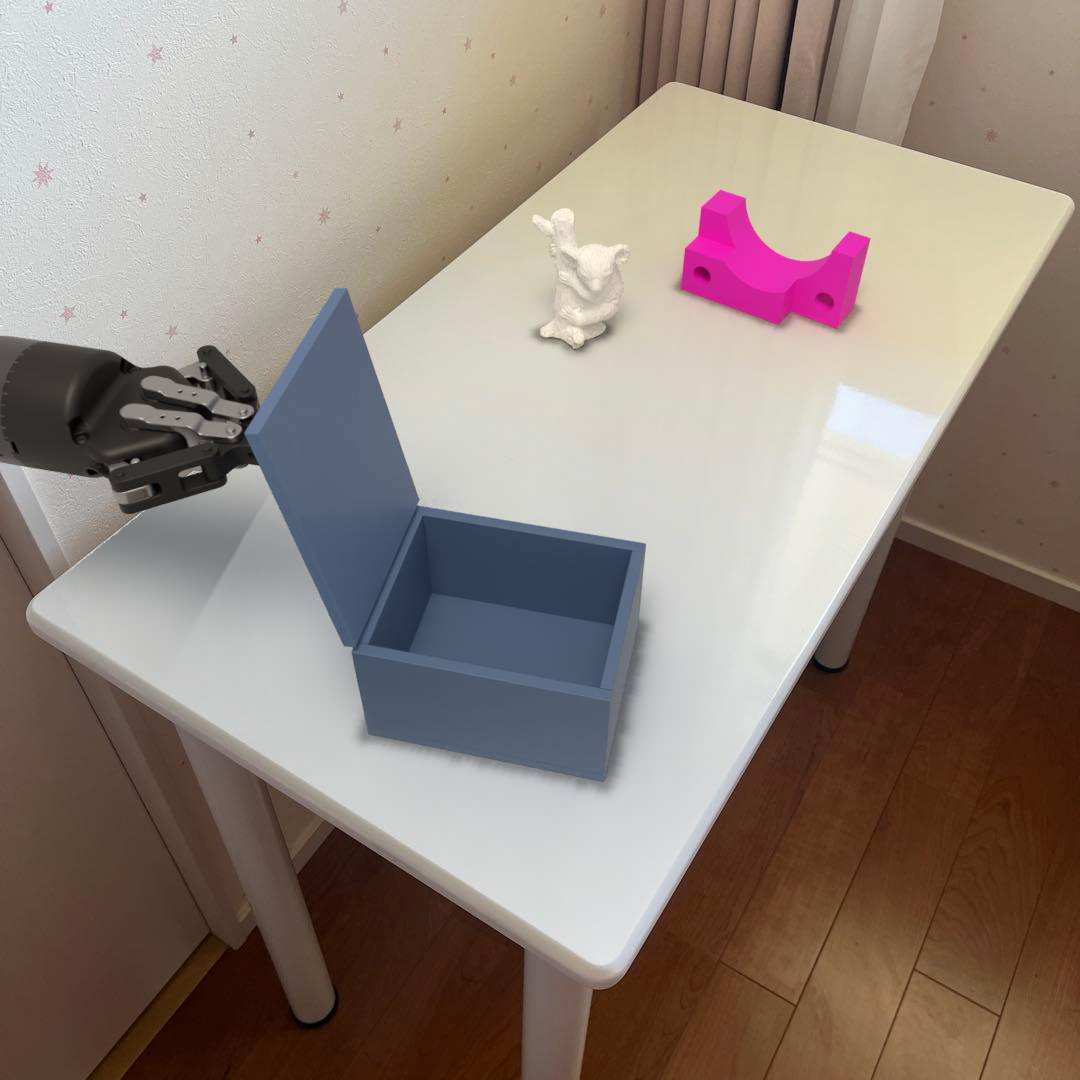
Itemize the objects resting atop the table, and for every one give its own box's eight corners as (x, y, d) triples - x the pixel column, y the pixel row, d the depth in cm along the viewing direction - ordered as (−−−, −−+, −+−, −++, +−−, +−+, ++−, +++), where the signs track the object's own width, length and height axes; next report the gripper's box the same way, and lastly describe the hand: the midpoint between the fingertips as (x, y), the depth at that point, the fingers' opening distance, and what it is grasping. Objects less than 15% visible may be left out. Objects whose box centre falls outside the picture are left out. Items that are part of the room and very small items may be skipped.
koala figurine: (522, 345, 100) (520, 227, 91) (546, 304, 104) (546, 187, 95) (611, 364, 98) (618, 245, 89) (632, 321, 102) (641, 204, 93)
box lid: (347, 287, 62) (334, 287, 62) (258, 433, 53) (243, 433, 54) (420, 500, 73) (408, 499, 73) (355, 647, 65) (343, 646, 65)
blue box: (637, 628, 78) (646, 542, 71) (604, 782, 69) (610, 701, 63) (425, 590, 80) (415, 504, 74) (368, 734, 72) (350, 652, 65)
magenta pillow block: (680, 289, 106) (687, 219, 100) (711, 258, 109) (720, 189, 104) (825, 342, 100) (842, 270, 94) (853, 308, 103) (870, 237, 98)
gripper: (109, 384, 72) (360, 423, 70) (-1, 527, 64) (281, 577, 61) (74, 287, 67) (344, 325, 64) (-53, 428, 58) (254, 479, 55)
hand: (313, 448), depth 63 cm, fingers closed
